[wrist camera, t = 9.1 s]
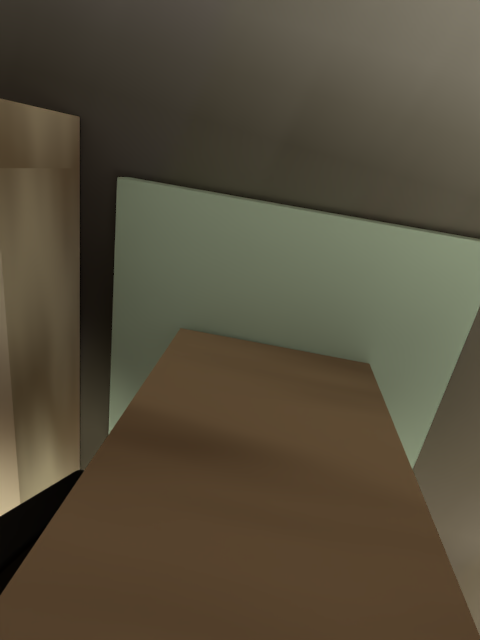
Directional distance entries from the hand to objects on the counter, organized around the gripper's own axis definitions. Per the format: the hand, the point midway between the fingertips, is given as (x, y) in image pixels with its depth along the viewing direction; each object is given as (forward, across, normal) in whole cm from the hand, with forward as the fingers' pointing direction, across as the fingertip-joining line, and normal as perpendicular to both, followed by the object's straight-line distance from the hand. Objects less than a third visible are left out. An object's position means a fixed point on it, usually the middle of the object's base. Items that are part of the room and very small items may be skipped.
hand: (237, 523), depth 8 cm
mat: (+4, 0, 0) cm, 4 cm away
